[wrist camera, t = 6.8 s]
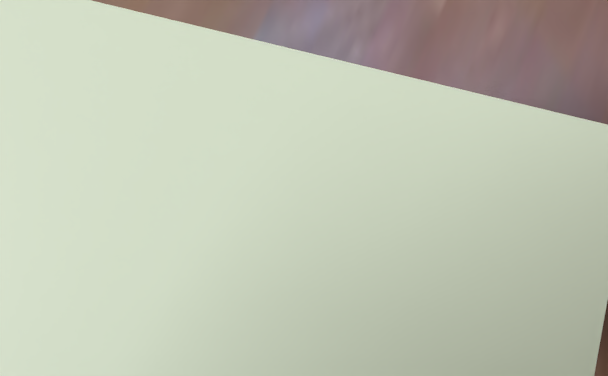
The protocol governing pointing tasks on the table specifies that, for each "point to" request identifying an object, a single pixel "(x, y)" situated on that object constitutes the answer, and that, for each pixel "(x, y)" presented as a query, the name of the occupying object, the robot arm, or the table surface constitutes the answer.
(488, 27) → the table surface
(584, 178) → the sage block
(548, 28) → the table surface
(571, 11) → the table surface
